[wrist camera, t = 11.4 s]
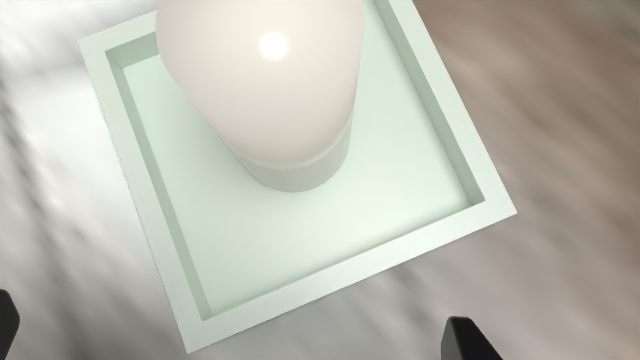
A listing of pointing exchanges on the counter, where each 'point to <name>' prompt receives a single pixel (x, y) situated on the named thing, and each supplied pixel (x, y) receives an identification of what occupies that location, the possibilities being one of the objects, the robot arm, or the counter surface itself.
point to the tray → (293, 207)
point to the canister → (269, 79)
